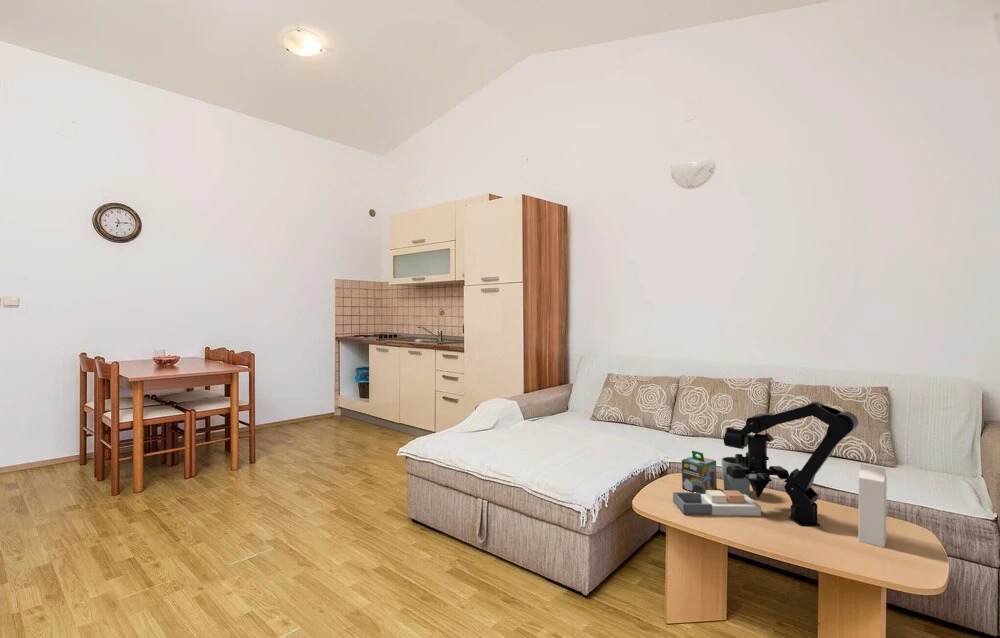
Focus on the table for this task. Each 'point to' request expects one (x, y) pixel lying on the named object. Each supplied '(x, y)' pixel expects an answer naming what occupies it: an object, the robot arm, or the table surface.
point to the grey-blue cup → (733, 483)
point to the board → (733, 507)
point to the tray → (691, 503)
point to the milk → (872, 505)
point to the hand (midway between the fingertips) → (757, 497)
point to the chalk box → (699, 473)
